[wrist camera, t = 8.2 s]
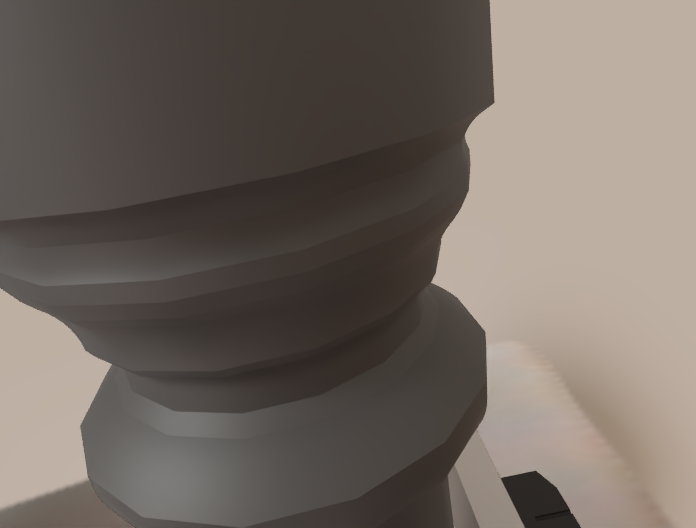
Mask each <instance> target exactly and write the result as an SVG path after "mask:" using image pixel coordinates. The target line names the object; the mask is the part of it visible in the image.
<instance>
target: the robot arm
mask: <svg viewBox="0 0 696 528" xmlns="http://www.w3.org/2000/svg"><path fill="white" fill-rule="evenodd" d="M448 481H449V490H450V499H451V507H452V516H453V523H454V525H455V528H581V527H580V525H579V524H578V522H577V520H576V519H575V517H574V516H573V514H571V512H570V509H569V507H568V506H567V504H566V502H565V501H564V499H563V498H562V496H561V494H560V493H559V491H558V489H557V488H556V487H555V486H554V485H553V484H551V483H550V482H549V481H548V480H546V479H545V478H544V477H543V476H542V475H540V474H539V473H538V472H537V471H532V472H528V473H523V474H518V475H513V476H509V477H504V478H500V476H499V474H498V472H497V470H496V468H495V466H494V464H493V462H492V460H491V458H490V456H489V454H488V452H487V450H486V448H485V446H484V444H483V442H482V440H481V438H480V436H479V434H478V432H477V430H476V431H475V432H474V434H473V435H472V437H471V439H470V440H469V442H468V443H467V445H466V447H465V448H464V450H463V451H462V453H461V455H460V456H459V458H458V459H457V461H456V463H455V464H454V466H453V467H452V469H451V471H450V472H449V474H448Z"/></svg>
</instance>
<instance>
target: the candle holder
mask: <svg viewBox="0 0 696 528" xmlns="http://www.w3.org/2000/svg"><path fill="white" fill-rule="evenodd" d="M493 103H494V87H493V64H492V44H491V23H490V2H489V0H0V288H1V289H3V290H4V291H6V292H7V293H9V294H10V295H11V296H13V297H14V298H16V299H18V300H19V301H20V302H22V303H24V304H26V305H29V306H31V307H33V308H35V309H37V310H40V311H43V312H45V313H48V314H50V315H51V316H53V317H55V318H57V319H58V320H60V321H61V322H63V323H64V324H65V325H66V326H68V327H69V328H70V329H71V330H72V331H73V332H74V333H75V334H76V336H77V337H78V338H79V340H80V341H81V343H82V345H83V347H84V348H85V350H86V351H88V352H89V353H90V354H92V355H94V356H96V357H97V358H100V359H102V360H104V361H106V362H109V363H111V364H112V366H111V367H110V369H109V371H108V372H107V374H106V376H105V378H104V380H103V382H102V384H101V386H100V388H99V390H98V392H97V394H96V396H95V398H94V400H93V402H92V404H91V406H90V408H89V410H88V412H87V414H86V416H85V418H84V420H83V422H82V424H81V433H82V440H83V446H84V453H85V459H86V466H87V473H88V478H89V480H90V482H91V484H92V486H93V488H94V490H95V492H96V494H97V495H98V497H99V498H100V499H101V501H102V502H103V503H104V504H105V505H107V506H108V507H109V508H110V509H112V510H113V511H114V512H115V513H117V514H118V515H119V516H121V517H122V518H123V519H125V520H126V521H127V522H128V523H130V524H131V525H132V526H134V527H135V528H454V524H453V516H452V507H451V499H450V490H449V481H448V474H449V472H450V471H451V469H452V467H453V466H454V464H455V463H456V461H457V459H458V458H459V456H460V455H461V453H462V451H463V450H464V448H465V447H466V445H467V443H468V442H469V440H470V439H471V437H472V435H473V434H474V432H475V431H476V429H477V427H478V426H479V424H480V423H481V421H482V419H483V417H484V415H485V411H486V407H487V367H486V338H485V331H484V330H483V329H482V327H481V326H480V325H479V324H478V322H477V321H476V320H475V319H474V318H473V316H472V315H471V314H470V313H469V312H468V310H467V309H466V308H465V307H464V305H463V304H462V303H461V302H460V301H459V300H458V298H457V297H455V296H454V295H453V294H451V293H449V292H447V291H446V290H444V289H443V288H441V287H439V286H437V285H434V284H432V283H431V281H432V279H433V277H434V275H435V273H436V267H437V262H438V257H439V251H440V245H441V238H442V235H443V234H444V232H445V230H446V229H447V227H448V226H449V224H450V223H451V222H452V221H453V219H454V218H455V216H456V215H457V213H458V212H459V210H460V209H461V207H462V204H463V202H464V200H465V198H466V195H467V193H468V191H469V177H470V176H469V175H470V154H469V148H468V146H467V143H466V140H465V133H466V131H467V129H468V127H469V125H470V124H471V122H472V121H473V120H474V119H475V118H476V117H477V116H478V115H479V114H480V113H481V112H483V111H484V110H485V109H487V108H488V107H489V106H491V105H492V104H493Z"/></svg>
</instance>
